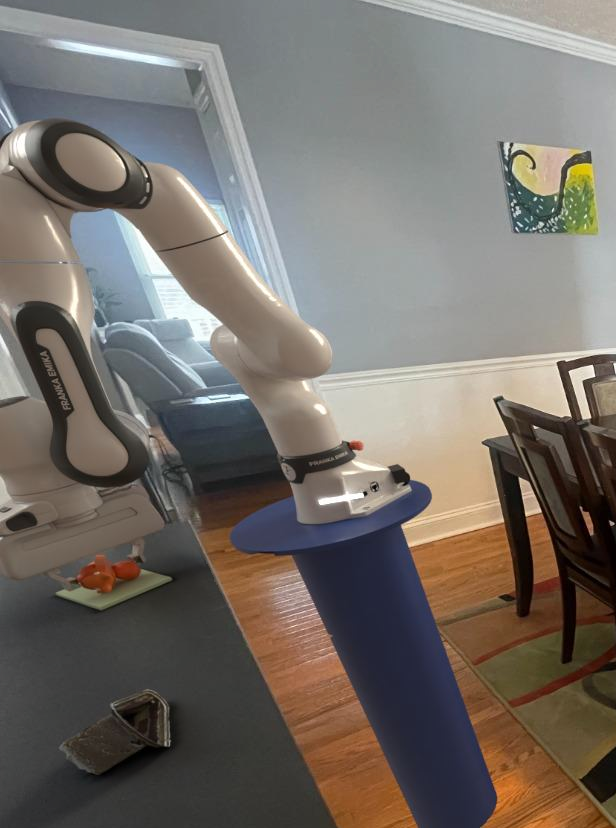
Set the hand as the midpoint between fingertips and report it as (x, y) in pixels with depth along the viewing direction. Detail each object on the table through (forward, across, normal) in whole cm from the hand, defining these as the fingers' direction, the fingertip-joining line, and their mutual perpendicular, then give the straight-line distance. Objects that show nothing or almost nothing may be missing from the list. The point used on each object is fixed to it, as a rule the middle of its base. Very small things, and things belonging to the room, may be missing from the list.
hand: (107, 575), depth 102 cm
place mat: (+2, 0, 0) cm, 3 cm away
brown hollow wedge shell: (+3, +20, +48) cm, 52 cm away
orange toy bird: (+2, 0, 0) cm, 2 cm away
